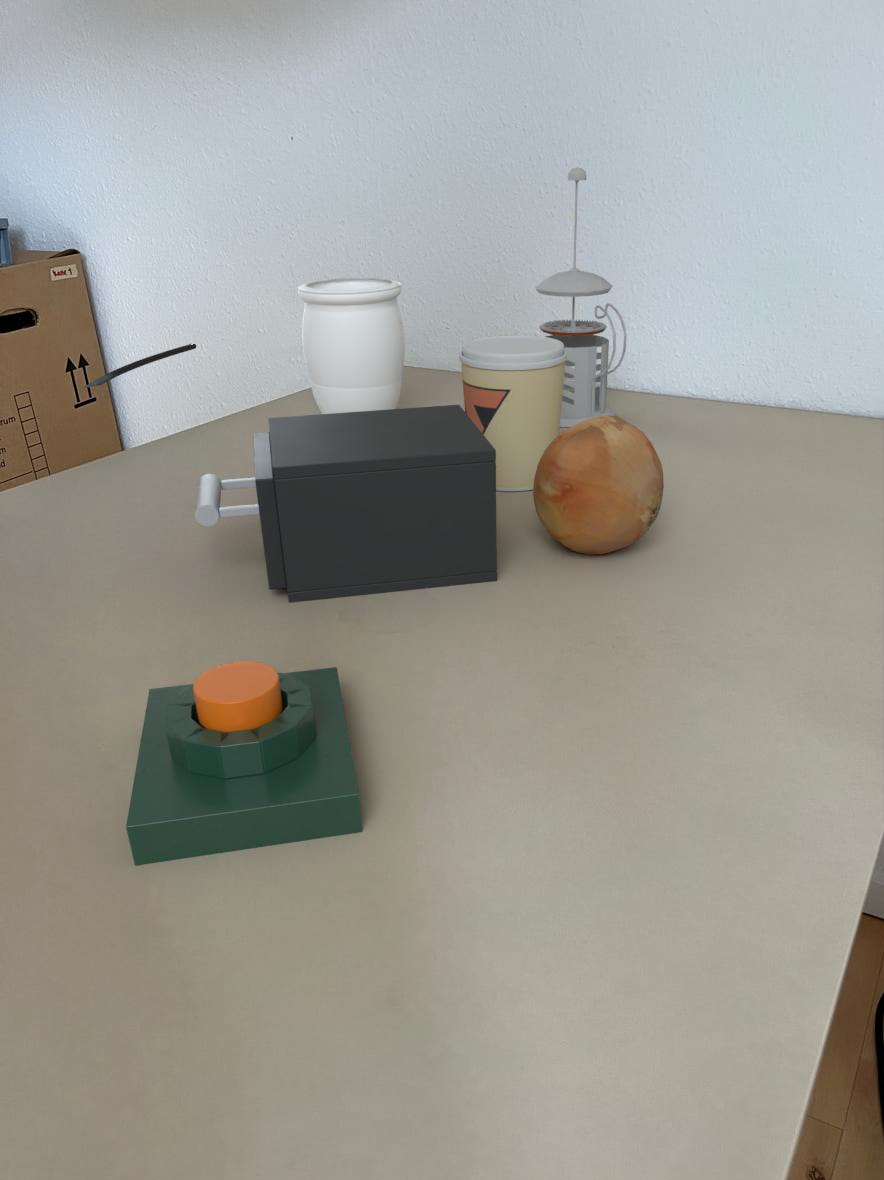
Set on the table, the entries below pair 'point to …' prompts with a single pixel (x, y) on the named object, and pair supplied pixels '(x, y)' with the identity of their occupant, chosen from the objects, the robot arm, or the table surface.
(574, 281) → the french press
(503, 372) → the coffee cup
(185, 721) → the green button housing
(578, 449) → the onion
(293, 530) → the drawer cabinet
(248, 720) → the button
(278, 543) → the pull-out drawer
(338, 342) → the jar
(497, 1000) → the table surface
